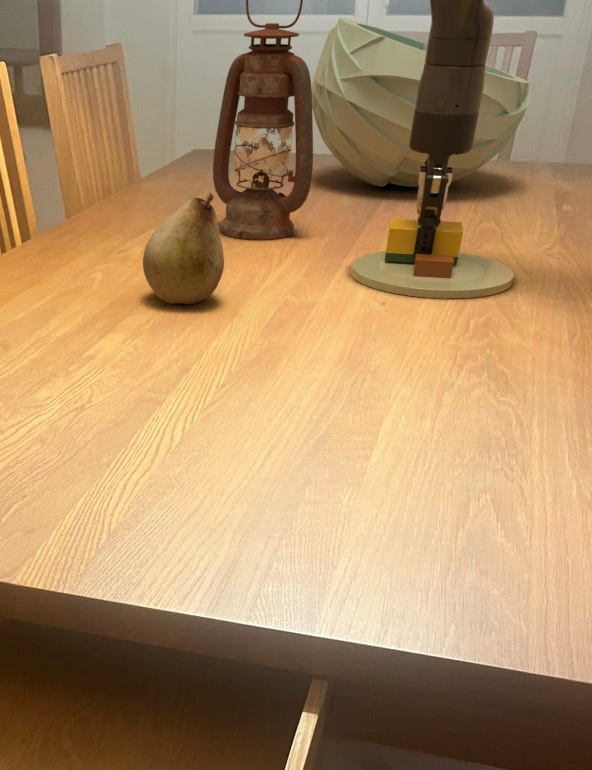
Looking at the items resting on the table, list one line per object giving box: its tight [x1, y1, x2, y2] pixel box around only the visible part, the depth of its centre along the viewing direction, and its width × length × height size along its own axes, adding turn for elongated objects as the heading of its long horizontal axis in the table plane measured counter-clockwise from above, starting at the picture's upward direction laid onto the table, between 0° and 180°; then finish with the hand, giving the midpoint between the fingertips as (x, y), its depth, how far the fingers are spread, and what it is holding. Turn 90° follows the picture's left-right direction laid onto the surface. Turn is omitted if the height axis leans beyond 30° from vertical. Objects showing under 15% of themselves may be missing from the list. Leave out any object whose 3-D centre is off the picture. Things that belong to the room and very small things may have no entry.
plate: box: [350, 250, 515, 300], centre depth 123 cm, size 20×20×1 cm
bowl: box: [311, 17, 531, 188], centre depth 167 cm, size 35×35×22 cm
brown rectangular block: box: [413, 254, 454, 278], centre depth 120 cm, size 4×3×2 cm, turn 75°
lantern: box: [212, 0, 314, 241], centre depth 134 cm, size 11×16×35 cm
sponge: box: [385, 217, 464, 265], centre depth 125 cm, size 9×6×4 cm, turn 75°
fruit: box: [142, 192, 225, 305], centre depth 112 cm, size 10×9×12 cm
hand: (421, 252), depth 126 cm, fingers closed on sponge, 6 cm apart
